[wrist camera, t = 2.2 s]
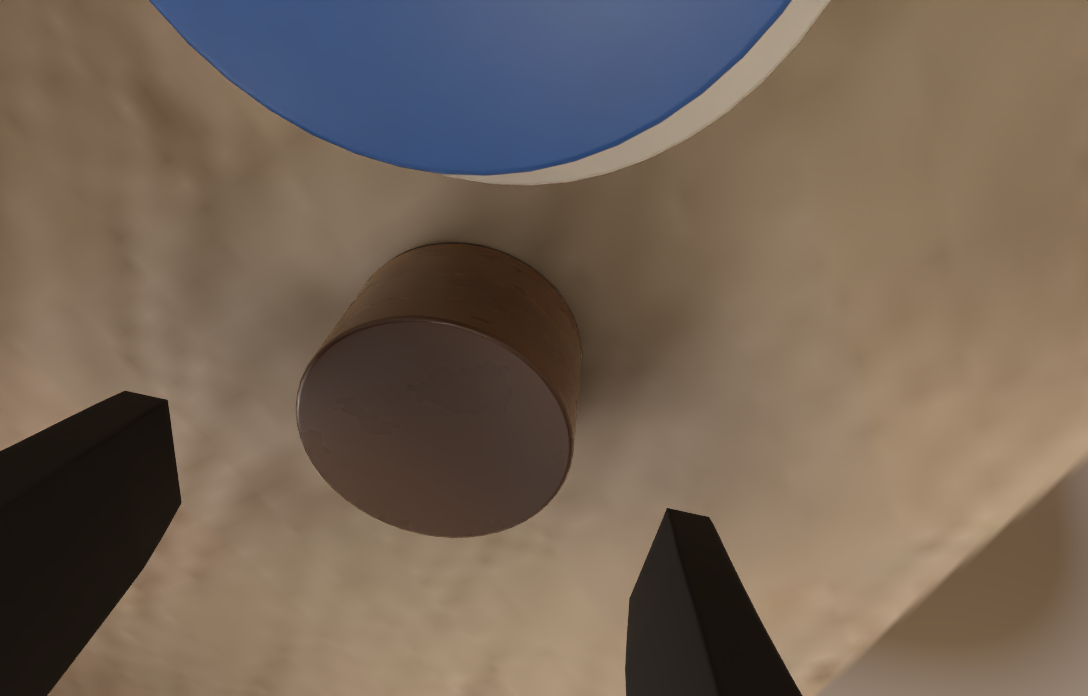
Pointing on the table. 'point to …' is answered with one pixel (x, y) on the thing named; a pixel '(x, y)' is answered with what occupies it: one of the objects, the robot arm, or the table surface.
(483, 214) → the table surface
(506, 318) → the brown cylinder
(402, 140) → the bottle
